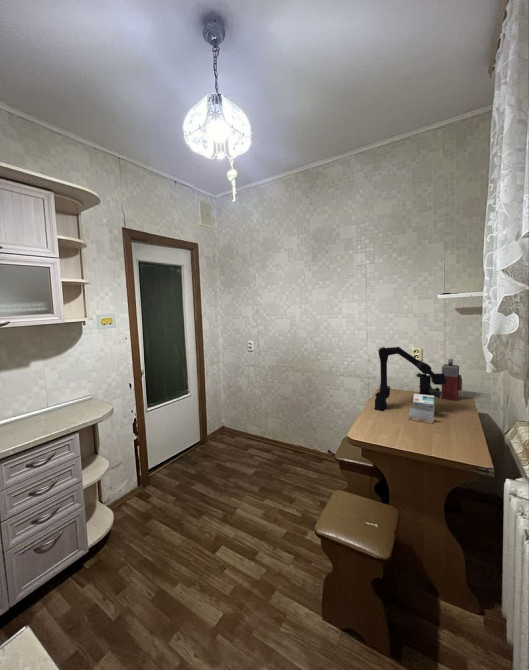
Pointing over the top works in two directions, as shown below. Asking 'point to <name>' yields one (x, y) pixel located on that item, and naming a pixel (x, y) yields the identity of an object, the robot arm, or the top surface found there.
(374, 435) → the top surface
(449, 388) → the red thermos jug
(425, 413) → the grey thin panel
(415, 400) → the light bulb box
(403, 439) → the top surface
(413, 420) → the shelf plank
